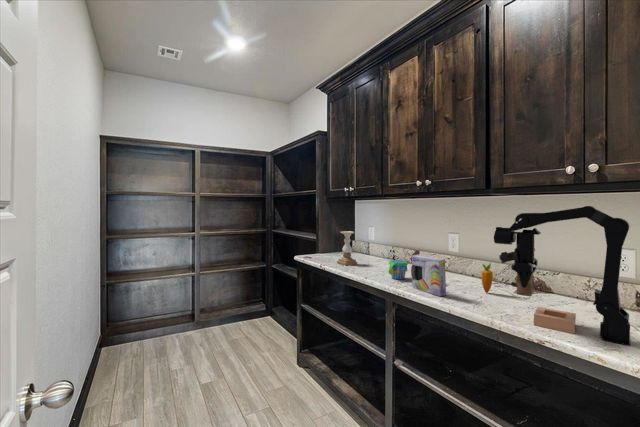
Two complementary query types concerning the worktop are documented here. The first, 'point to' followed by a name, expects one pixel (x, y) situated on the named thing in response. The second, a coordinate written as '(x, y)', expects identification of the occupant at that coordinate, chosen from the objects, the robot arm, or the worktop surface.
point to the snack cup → (398, 269)
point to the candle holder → (347, 250)
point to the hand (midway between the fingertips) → (524, 286)
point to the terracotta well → (555, 319)
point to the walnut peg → (525, 291)
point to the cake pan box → (429, 274)
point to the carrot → (487, 277)
